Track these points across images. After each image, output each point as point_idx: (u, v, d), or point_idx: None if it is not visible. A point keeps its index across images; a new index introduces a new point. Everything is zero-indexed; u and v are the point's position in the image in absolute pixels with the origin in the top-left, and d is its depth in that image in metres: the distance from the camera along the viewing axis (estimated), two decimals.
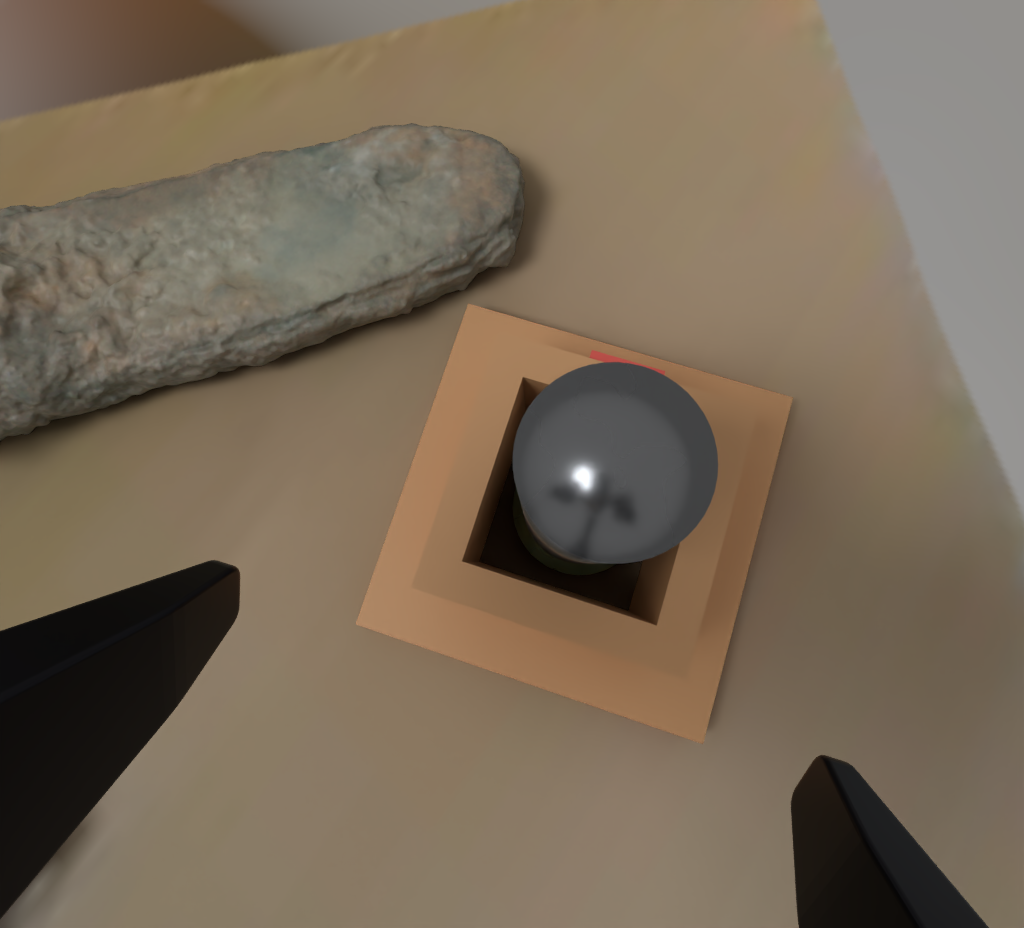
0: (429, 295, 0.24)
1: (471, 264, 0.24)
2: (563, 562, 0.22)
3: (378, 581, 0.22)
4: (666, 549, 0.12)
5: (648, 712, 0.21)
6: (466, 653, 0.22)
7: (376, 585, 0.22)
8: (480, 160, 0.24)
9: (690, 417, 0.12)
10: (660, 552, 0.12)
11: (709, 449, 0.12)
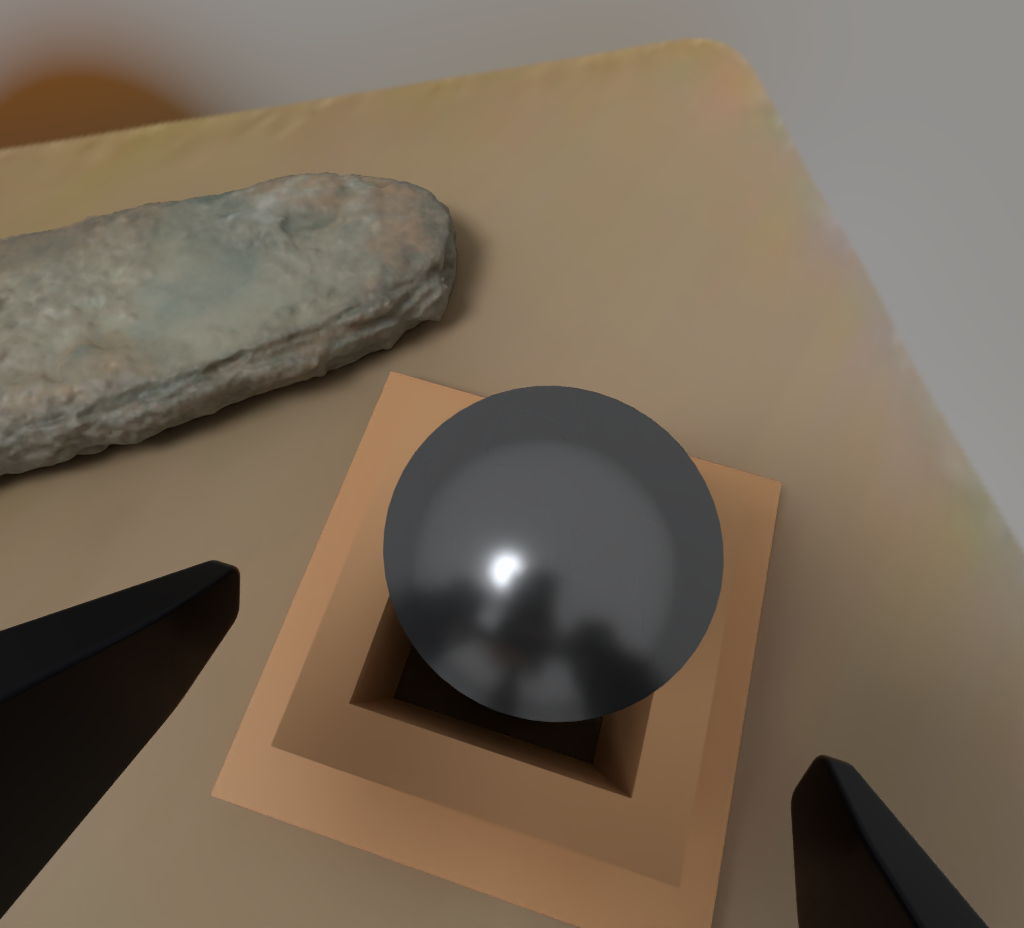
0: (347, 352, 0.20)
1: (396, 315, 0.20)
2: None
3: (249, 730, 0.16)
4: (646, 694, 0.07)
5: (624, 922, 0.15)
6: (366, 836, 0.15)
7: (245, 736, 0.16)
8: (404, 205, 0.21)
9: (673, 469, 0.07)
10: (636, 699, 0.07)
11: (707, 520, 0.07)
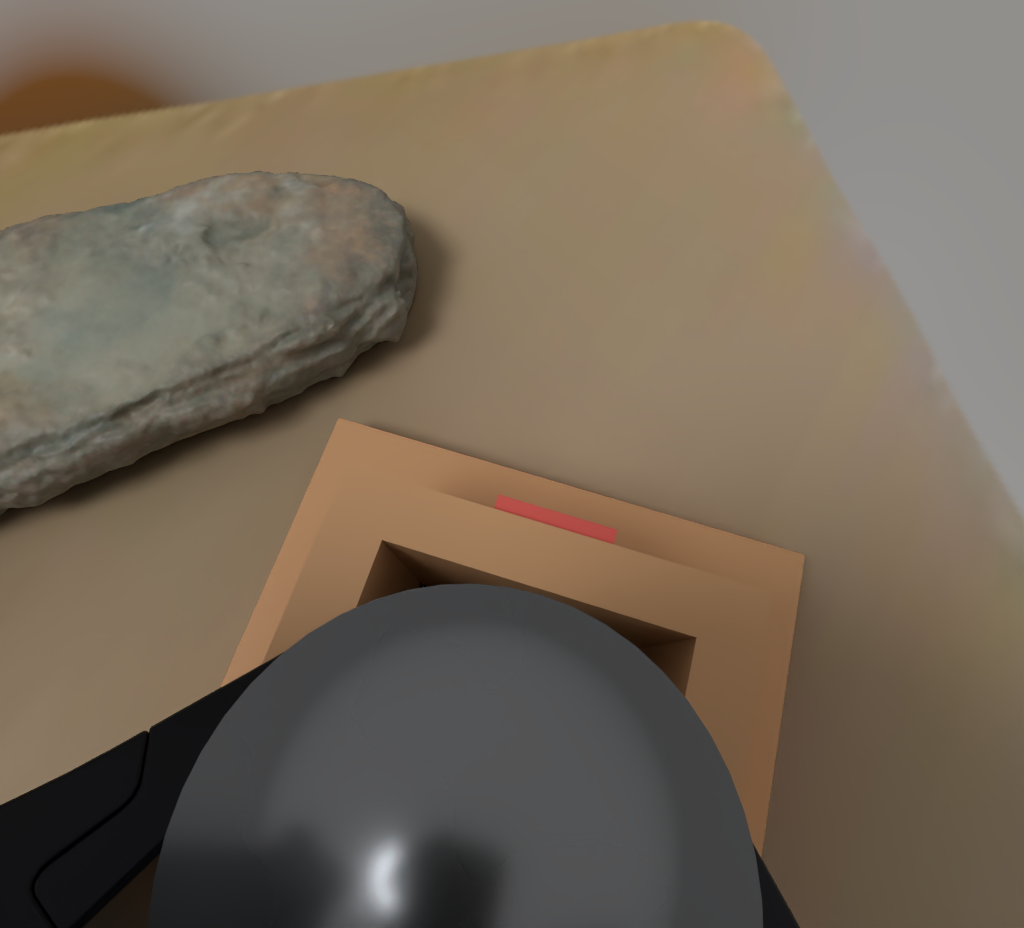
0: (288, 385, 0.17)
1: (345, 338, 0.17)
2: None
3: None
4: None
5: None
6: None
7: None
8: (349, 206, 0.18)
9: (674, 744, 0.04)
10: None
11: (732, 848, 0.04)
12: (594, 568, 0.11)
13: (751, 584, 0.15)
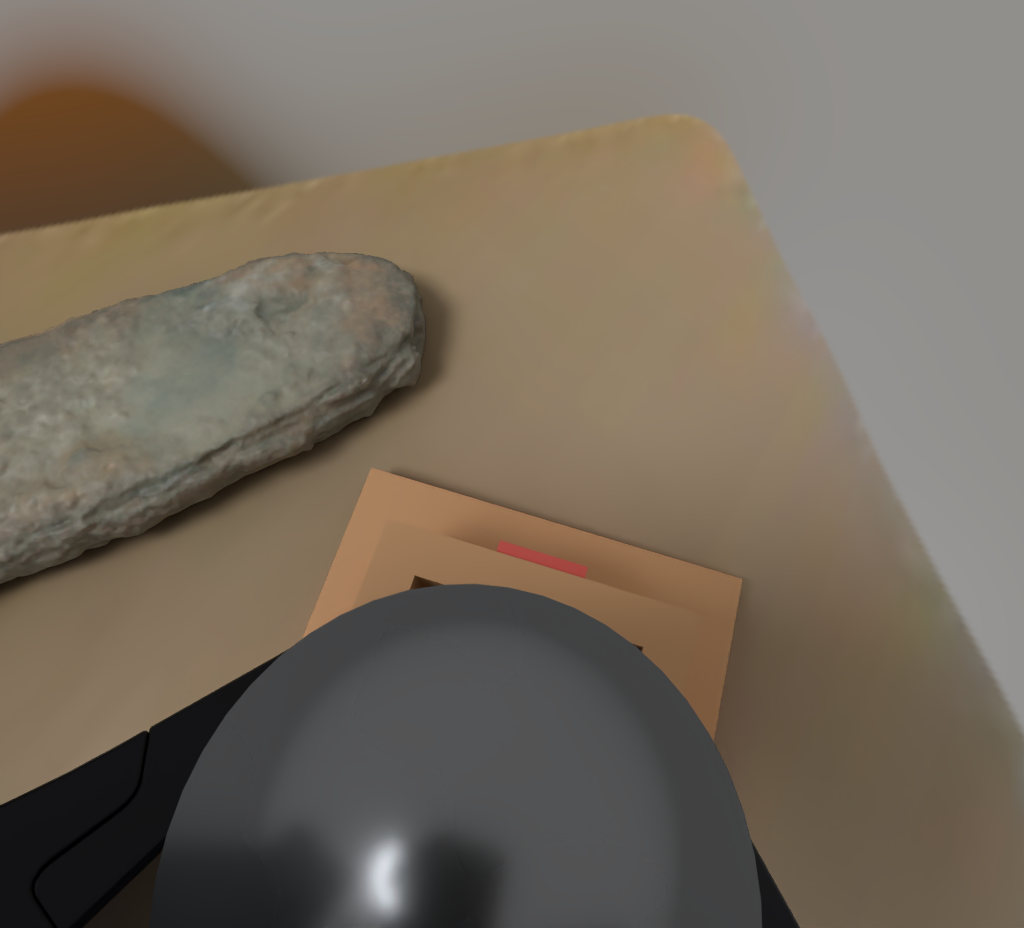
0: (331, 427, 0.21)
1: (374, 388, 0.21)
2: None
3: None
4: None
5: None
6: None
7: None
8: (371, 280, 0.22)
9: (673, 745, 0.04)
10: None
11: (731, 847, 0.04)
12: (569, 596, 0.15)
13: (699, 602, 0.20)
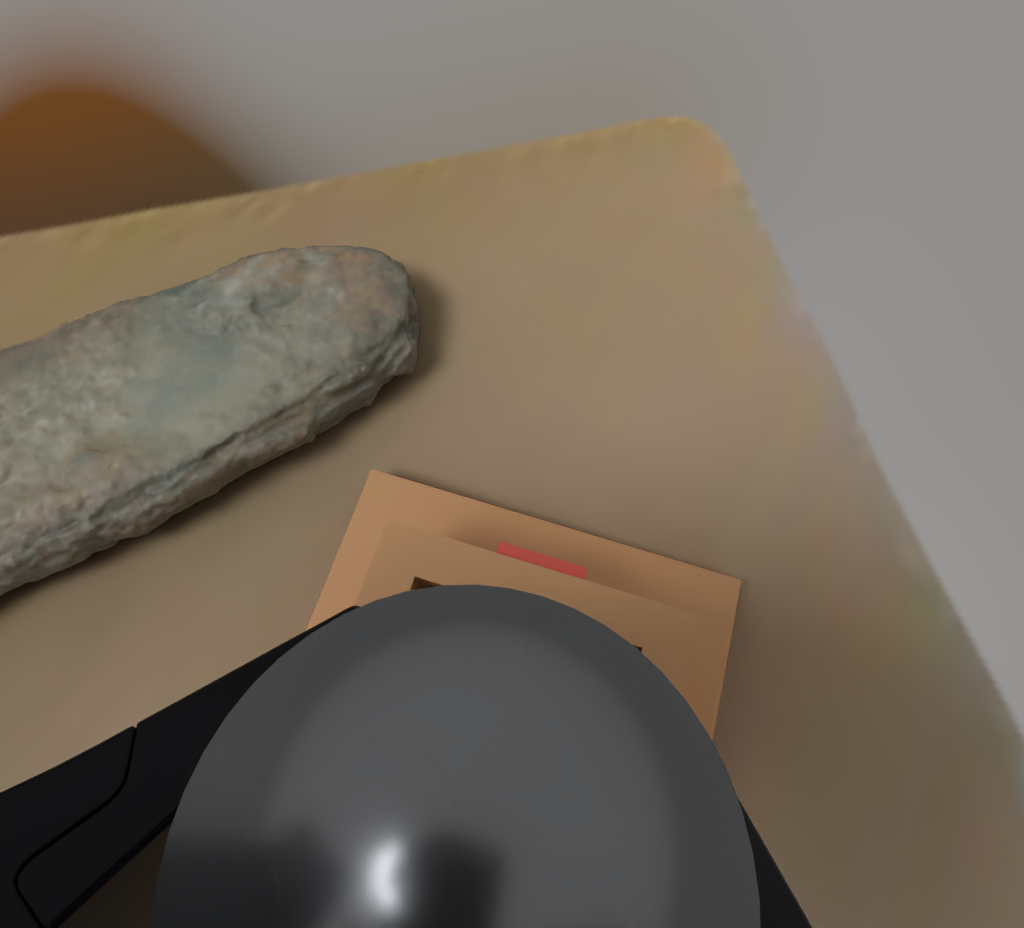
0: (332, 417, 0.21)
1: (373, 376, 0.21)
2: None
3: None
4: None
5: None
6: None
7: None
8: (363, 270, 0.22)
9: (672, 743, 0.04)
10: None
11: (730, 847, 0.04)
12: (569, 597, 0.15)
13: (698, 603, 0.20)
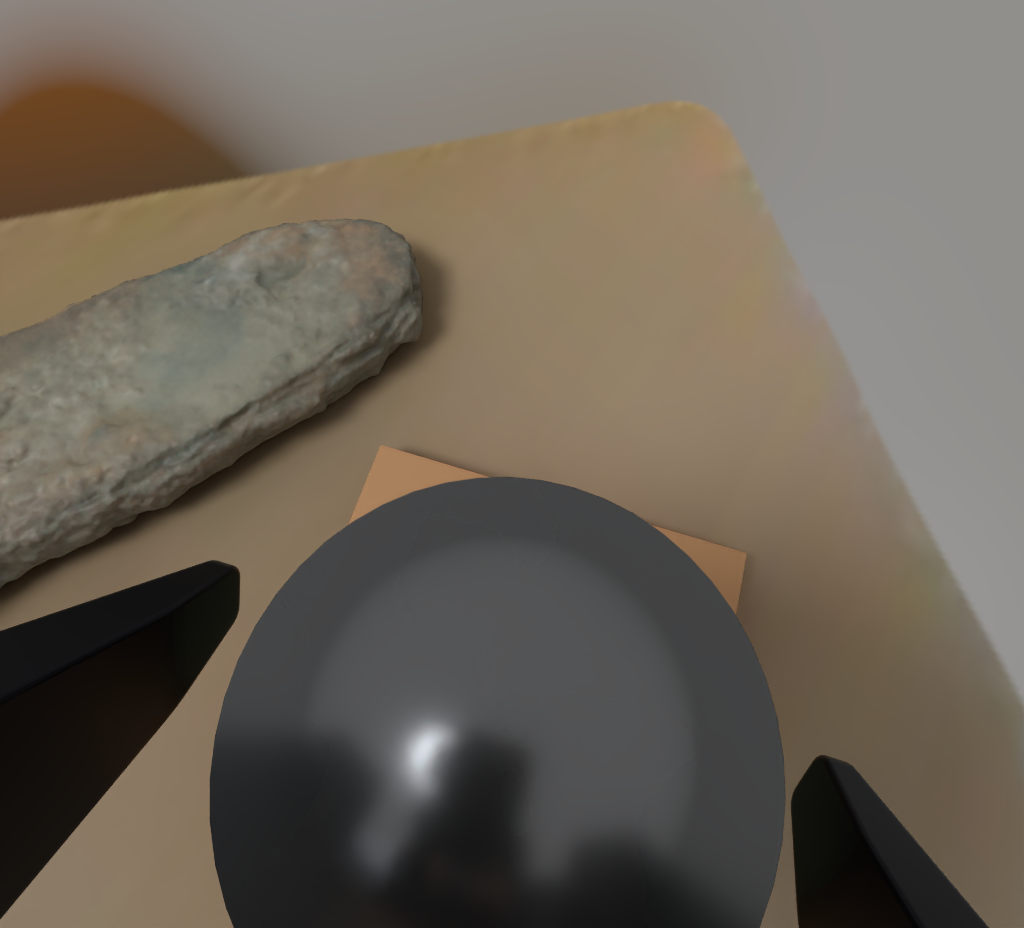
0: (343, 385, 0.22)
1: (381, 344, 0.22)
2: None
3: None
4: None
5: None
6: None
7: None
8: (365, 241, 0.23)
9: (700, 620, 0.05)
10: None
11: (755, 712, 0.04)
12: None
13: None
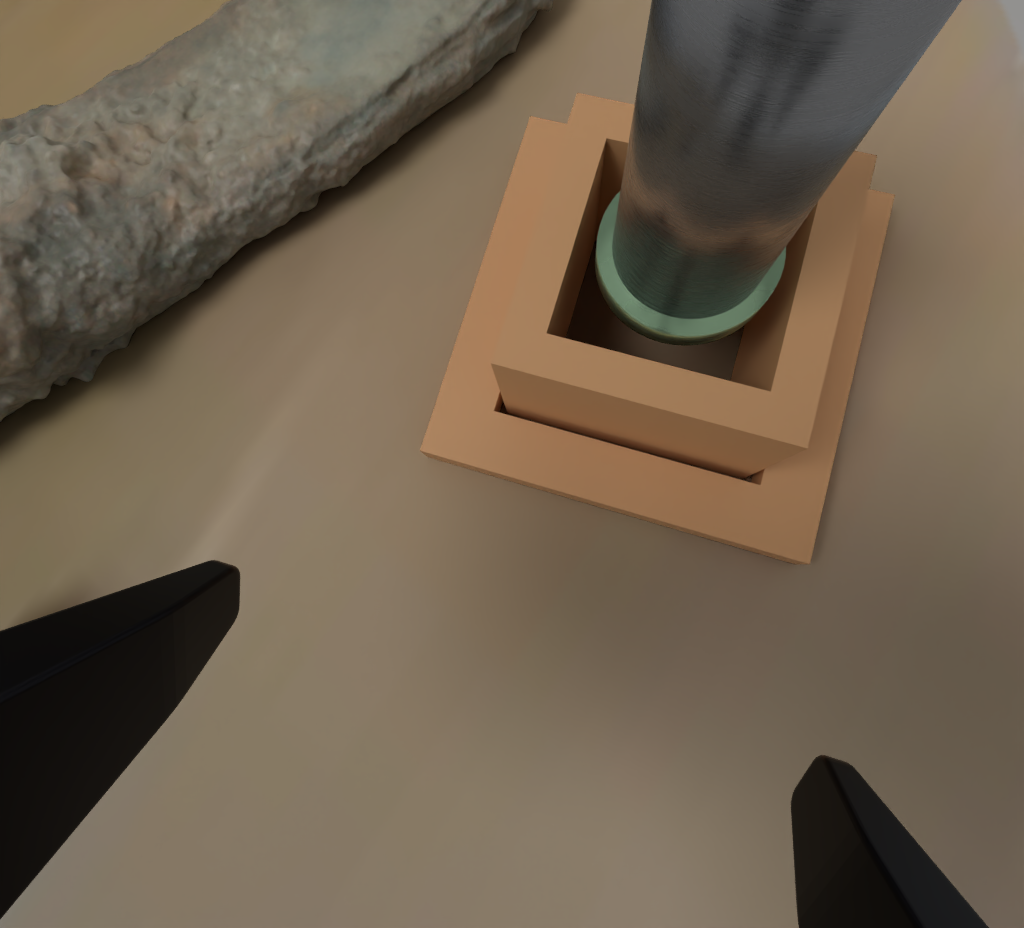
0: (489, 53, 0.23)
1: (521, 5, 0.22)
2: (671, 318, 0.15)
3: (443, 405, 0.21)
4: None
5: (746, 532, 0.19)
6: (541, 476, 0.20)
7: (441, 409, 0.21)
8: None
9: None
10: None
11: None
12: None
13: None
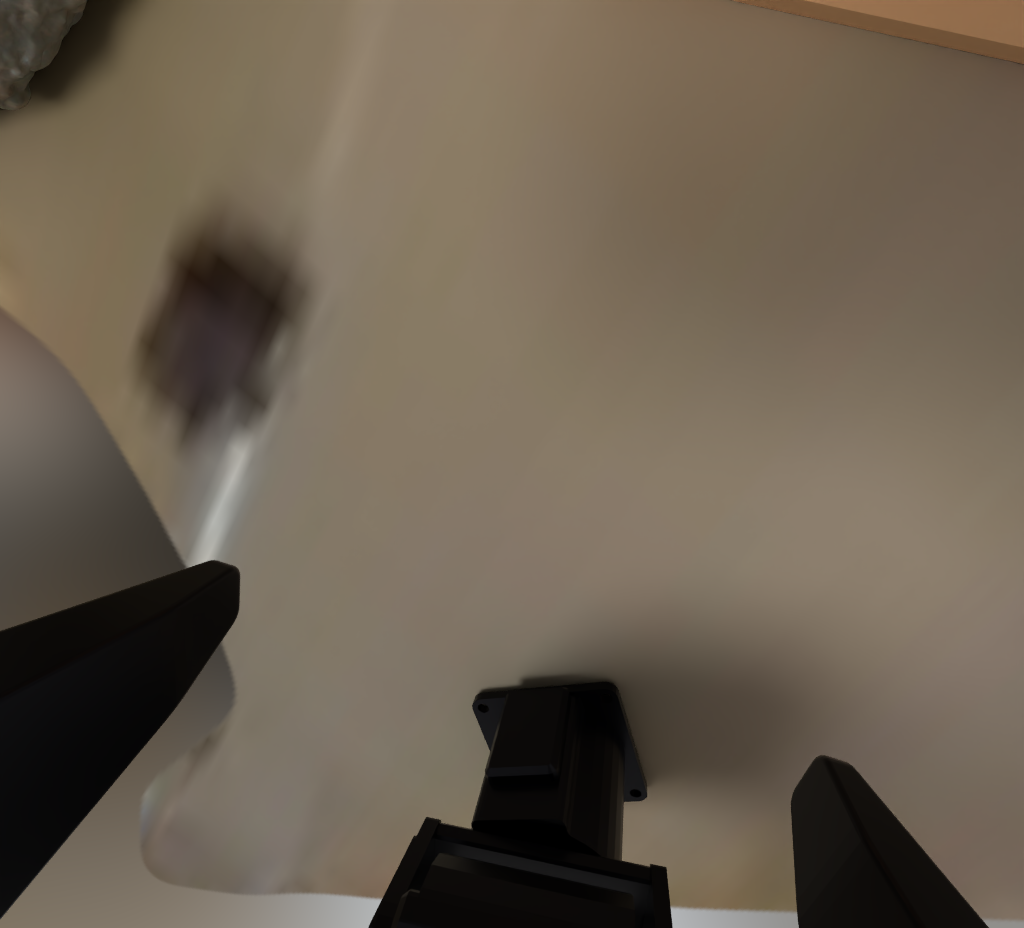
0: None
1: None
2: None
3: None
4: None
5: None
6: None
7: None
8: None
9: None
10: None
11: None
12: None
13: None
